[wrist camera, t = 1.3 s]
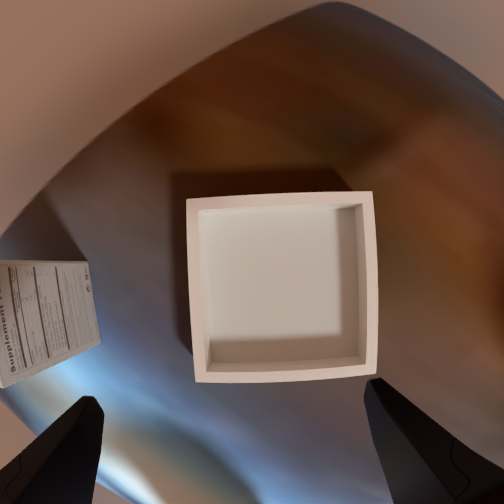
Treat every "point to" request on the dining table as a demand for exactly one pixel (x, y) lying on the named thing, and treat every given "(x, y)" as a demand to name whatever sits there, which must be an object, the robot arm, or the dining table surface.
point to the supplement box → (43, 316)
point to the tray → (282, 286)
